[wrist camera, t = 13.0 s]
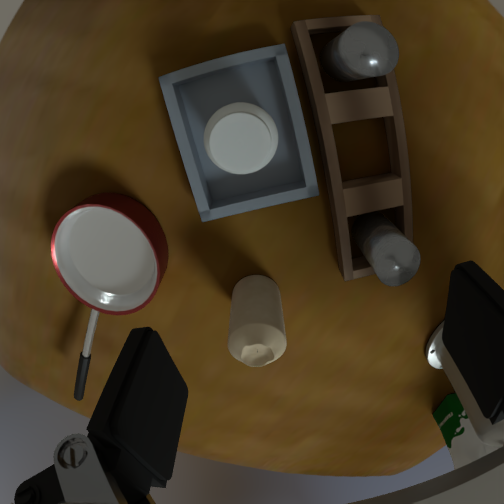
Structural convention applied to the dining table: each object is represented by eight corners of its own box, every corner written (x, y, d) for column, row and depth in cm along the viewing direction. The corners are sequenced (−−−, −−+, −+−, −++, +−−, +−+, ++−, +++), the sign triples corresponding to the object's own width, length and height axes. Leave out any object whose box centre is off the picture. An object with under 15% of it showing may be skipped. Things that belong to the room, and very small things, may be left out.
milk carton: (456, 411, 52) (485, 479, 34) (426, 417, 51) (454, 493, 33) (475, 386, 48) (512, 457, 30) (445, 392, 47) (481, 472, 29)
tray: (281, 49, 24) (284, 43, 22) (313, 186, 30) (319, 195, 28) (167, 79, 25) (158, 77, 23) (206, 211, 31) (202, 222, 29)
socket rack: (370, 20, 22) (379, 15, 20) (404, 253, 34) (412, 264, 31) (290, 27, 23) (293, 21, 21) (339, 269, 35) (344, 281, 32)
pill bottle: (284, 132, 27) (300, 145, 19) (243, 170, 29) (239, 201, 20) (243, 91, 26) (239, 84, 17) (202, 131, 27) (179, 144, 19)
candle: (238, 268, 35) (234, 328, 26) (286, 280, 35) (296, 340, 26) (227, 307, 37) (221, 369, 28) (271, 317, 38) (276, 379, 29)
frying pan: (139, 390, 45) (130, 421, 39) (69, 363, 43) (54, 390, 37) (182, 212, 32) (168, 237, 26) (75, 177, 30) (44, 194, 24)
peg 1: (357, 38, 23) (390, 21, 16) (368, 79, 25) (404, 74, 18) (314, 42, 24) (336, 22, 17) (325, 84, 26) (351, 78, 19)
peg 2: (387, 206, 31) (420, 237, 24) (389, 242, 33) (419, 279, 26) (349, 214, 32) (375, 248, 24) (353, 251, 34) (377, 291, 26)
